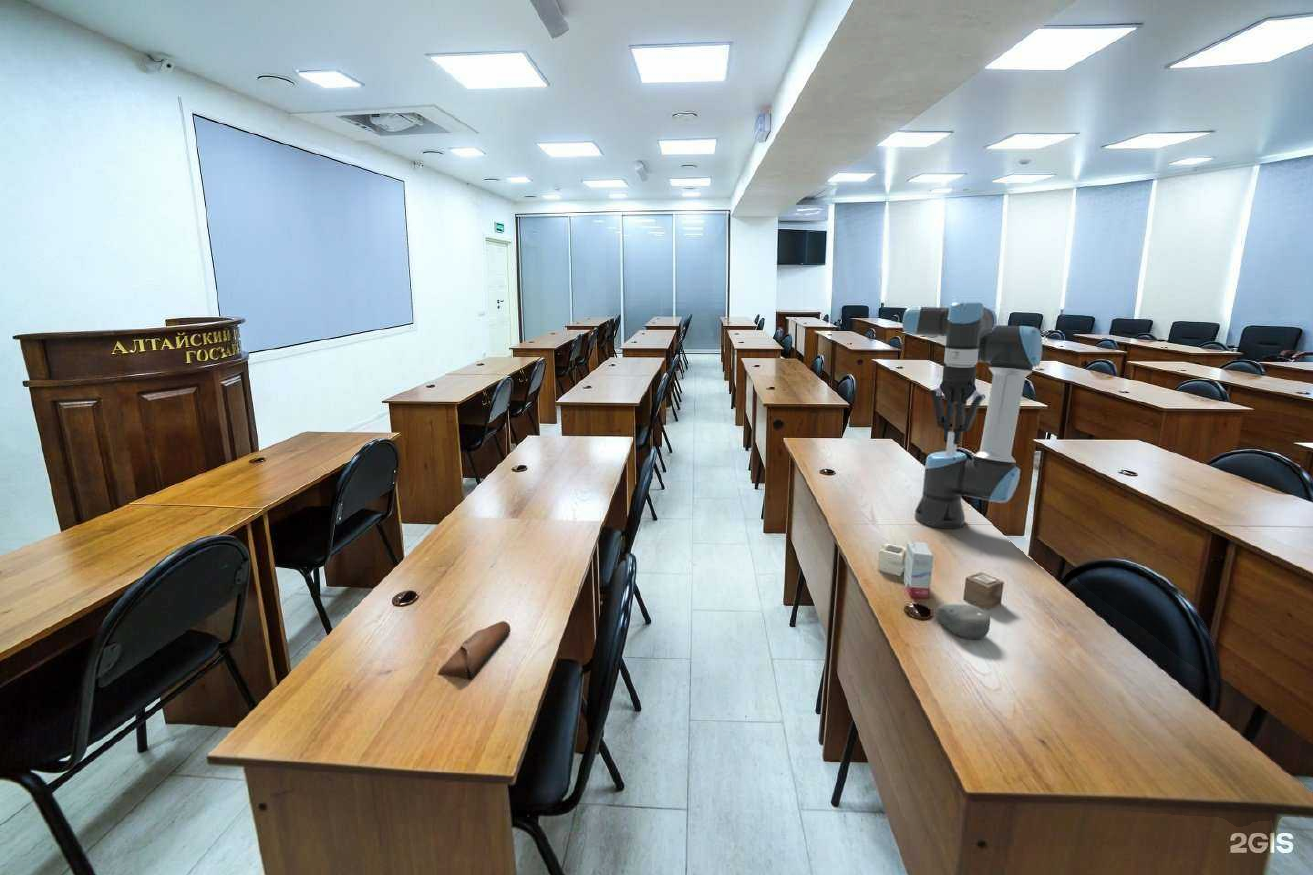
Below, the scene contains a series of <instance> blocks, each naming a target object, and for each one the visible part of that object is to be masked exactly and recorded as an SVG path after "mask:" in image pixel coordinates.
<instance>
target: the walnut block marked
mask: <svg viewBox="0 0 1313 875" xmlns="http://www.w3.org/2000/svg"><path fill="white" fill-rule="evenodd" d="M964 583H965V584H964V590H963V600H964V601H967V602H969V603H971V604H973V605H974V606H976V607H979V608H981V609H982V610H984V611H986V610H989V609H991V608H994V607H997V606H999V605H1001V604H1002V599H1003V598H1002V597H1003V591H1004V586H1005V581H1003V580H1000V579H998V578H996V577H994V576H991V575H989V574H986V573H984V572H982V571H981V572H978V573H977V572H976V573H975V574H972V575H969V576H967V577H965V581H964Z"/></svg>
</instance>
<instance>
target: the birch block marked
mask: <svg viewBox="0 0 1313 875" xmlns="http://www.w3.org/2000/svg"><path fill="white" fill-rule="evenodd" d="M906 550H907V547H904V546H900V545H895V544H891V543H887V542H886V543H885V544H884V545H883V546H882V547H881V548H879V550H878V559H877V560H878V562H877V571H879V572H884V573H887V574H891V575H896V576H899V577H901V575H902V574H903V573H904V572H905V561H906Z"/></svg>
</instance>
